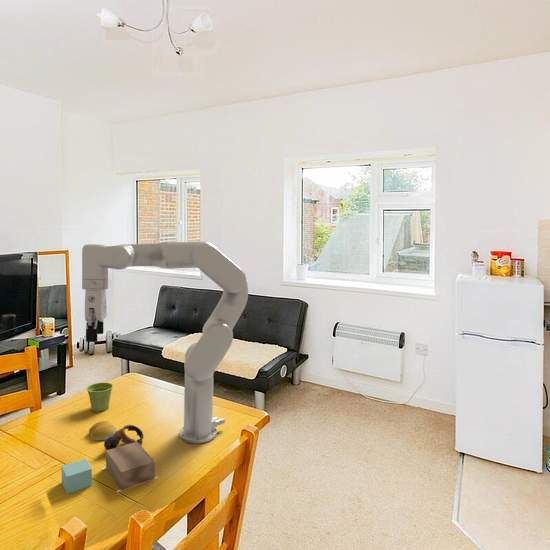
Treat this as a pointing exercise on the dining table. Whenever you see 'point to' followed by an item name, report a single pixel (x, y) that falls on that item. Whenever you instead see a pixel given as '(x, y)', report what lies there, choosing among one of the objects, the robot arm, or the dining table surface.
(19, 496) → the dining table surface
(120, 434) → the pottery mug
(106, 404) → the plant pot
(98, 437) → the bread roll
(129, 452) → the plinth
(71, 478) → the teal cube
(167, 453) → the dining table surface
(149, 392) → the dining table surface
